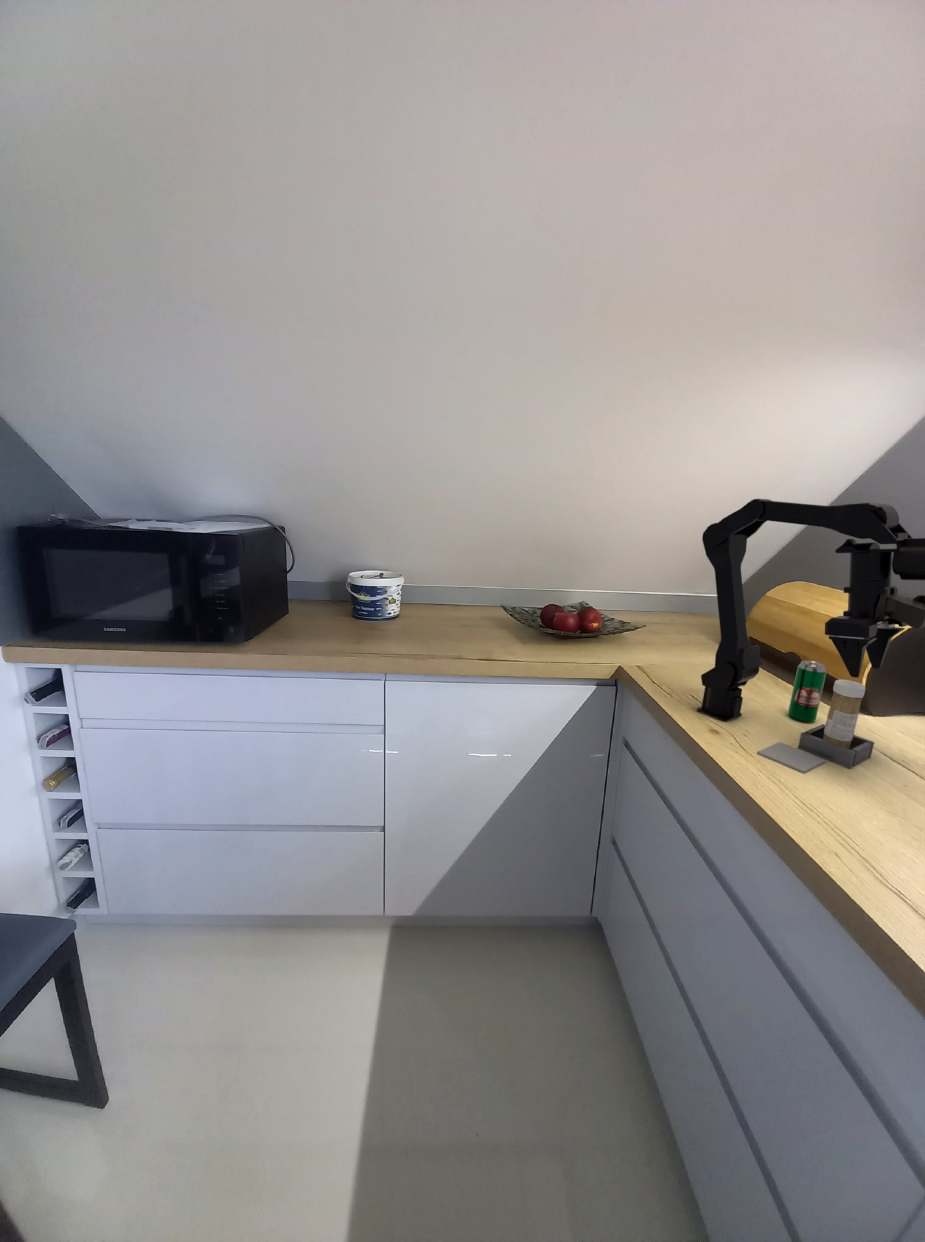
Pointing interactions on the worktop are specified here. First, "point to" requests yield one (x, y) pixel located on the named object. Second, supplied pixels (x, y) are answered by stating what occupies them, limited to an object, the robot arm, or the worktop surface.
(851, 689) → the sprinkles bottle
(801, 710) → the soda can
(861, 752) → the grey open box
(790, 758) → the rubber pad
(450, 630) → the worktop surface
